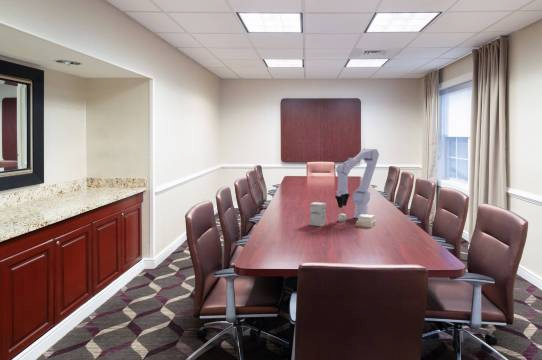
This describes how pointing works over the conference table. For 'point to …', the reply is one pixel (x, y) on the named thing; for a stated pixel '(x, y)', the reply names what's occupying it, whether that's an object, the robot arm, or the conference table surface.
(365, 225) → the base slab
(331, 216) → the conference table surface
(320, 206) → the supplement box
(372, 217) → the top slab
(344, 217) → the sage capsule
